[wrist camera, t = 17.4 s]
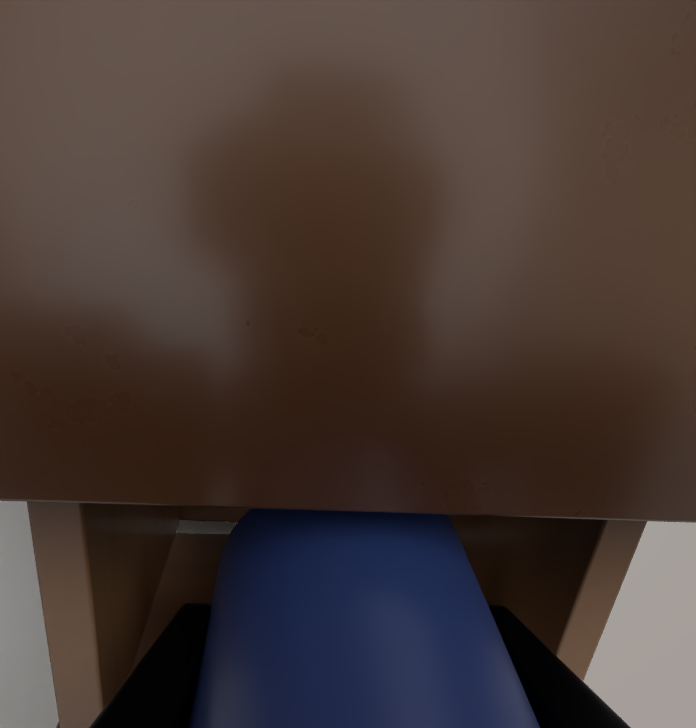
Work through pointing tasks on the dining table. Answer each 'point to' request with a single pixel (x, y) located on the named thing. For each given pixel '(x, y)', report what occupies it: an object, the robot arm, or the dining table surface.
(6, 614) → the dining table surface
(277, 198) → the cabinet
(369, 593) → the tin
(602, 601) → the drawer
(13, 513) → the dining table surface
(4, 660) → the dining table surface
